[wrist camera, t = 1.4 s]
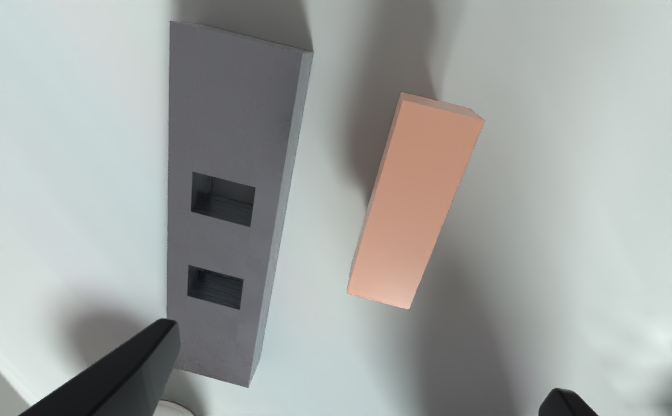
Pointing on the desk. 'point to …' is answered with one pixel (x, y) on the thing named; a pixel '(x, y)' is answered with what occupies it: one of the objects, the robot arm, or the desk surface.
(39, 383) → the desk surface
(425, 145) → the peach rectangular block
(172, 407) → the lidded jar
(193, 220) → the rail
